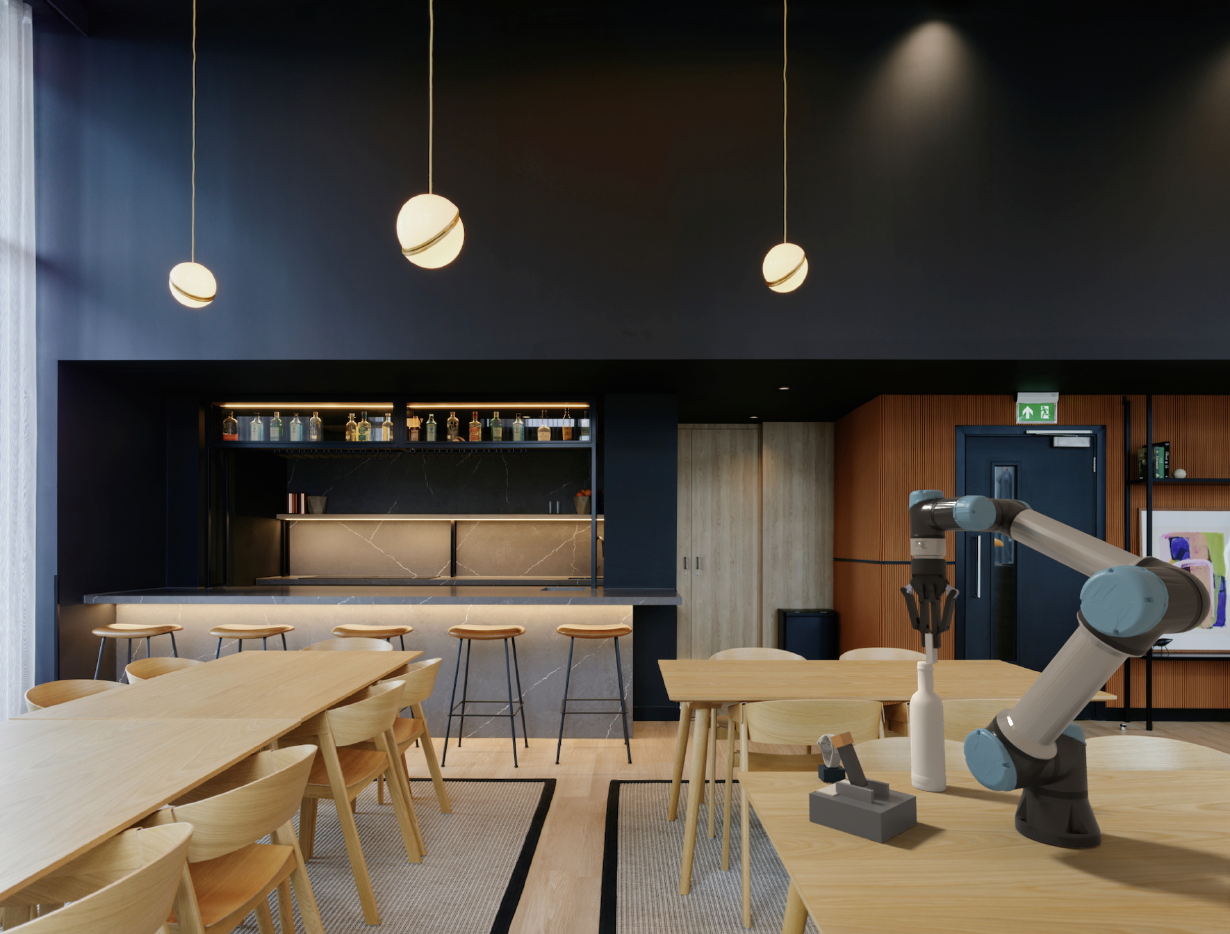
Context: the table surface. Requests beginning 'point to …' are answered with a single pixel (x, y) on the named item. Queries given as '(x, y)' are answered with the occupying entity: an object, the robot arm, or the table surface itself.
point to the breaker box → (863, 809)
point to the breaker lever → (849, 759)
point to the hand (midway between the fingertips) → (931, 662)
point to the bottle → (927, 734)
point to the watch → (830, 761)
